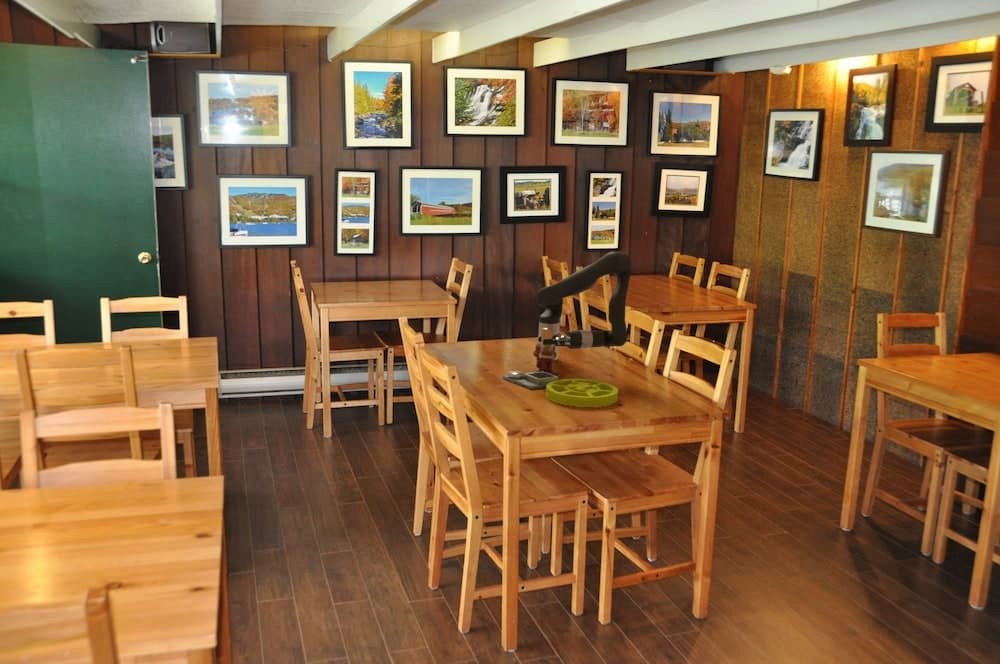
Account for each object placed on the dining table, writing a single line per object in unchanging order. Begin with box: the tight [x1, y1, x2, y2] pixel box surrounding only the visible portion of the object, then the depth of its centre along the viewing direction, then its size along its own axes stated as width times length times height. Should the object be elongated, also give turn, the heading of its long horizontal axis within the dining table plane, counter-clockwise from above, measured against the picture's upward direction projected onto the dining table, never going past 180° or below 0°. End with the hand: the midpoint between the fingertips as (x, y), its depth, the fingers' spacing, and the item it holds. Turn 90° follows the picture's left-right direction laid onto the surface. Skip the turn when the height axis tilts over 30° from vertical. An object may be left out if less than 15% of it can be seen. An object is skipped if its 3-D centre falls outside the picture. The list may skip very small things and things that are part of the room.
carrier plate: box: [502, 370, 559, 390], centre depth 368 cm, size 20×16×3 cm
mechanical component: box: [533, 343, 556, 372], centre depth 387 cm, size 12×10×10 cm
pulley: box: [545, 378, 619, 408], centre depth 347 cm, size 28×28×5 cm
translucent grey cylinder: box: [539, 327, 554, 359], centre depth 365 cm, size 6×6×12 cm
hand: (541, 340), depth 364 cm, fingers closed on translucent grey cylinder, 4 cm apart
